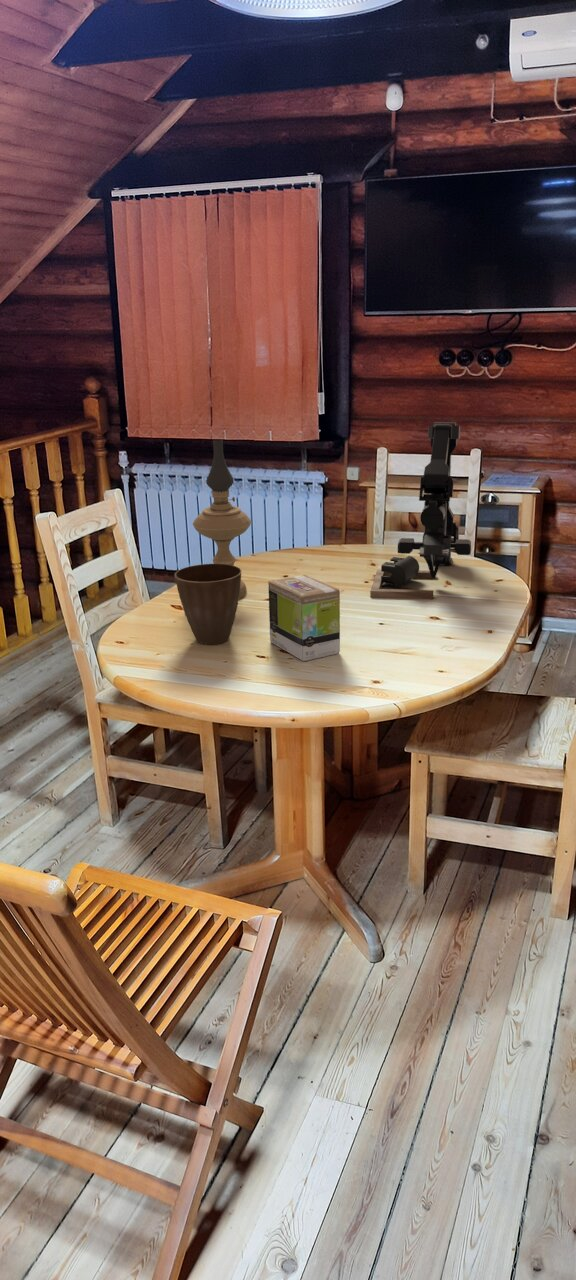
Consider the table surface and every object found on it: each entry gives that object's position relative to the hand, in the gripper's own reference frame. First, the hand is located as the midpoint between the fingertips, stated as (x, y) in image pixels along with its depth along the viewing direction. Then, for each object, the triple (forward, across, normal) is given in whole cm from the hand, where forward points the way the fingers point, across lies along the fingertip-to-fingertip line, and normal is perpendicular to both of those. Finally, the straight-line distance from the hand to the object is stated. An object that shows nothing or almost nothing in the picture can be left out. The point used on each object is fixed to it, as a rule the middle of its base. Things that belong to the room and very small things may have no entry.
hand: (433, 578), depth 248 cm
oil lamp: (+3, -54, -12) cm, 55 cm away
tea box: (+3, -26, -48) cm, 55 cm away
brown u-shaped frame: (+2, -7, 0) cm, 7 cm away
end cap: (+3, -9, +2) cm, 10 cm away
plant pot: (+3, -48, -46) cm, 66 cm away
